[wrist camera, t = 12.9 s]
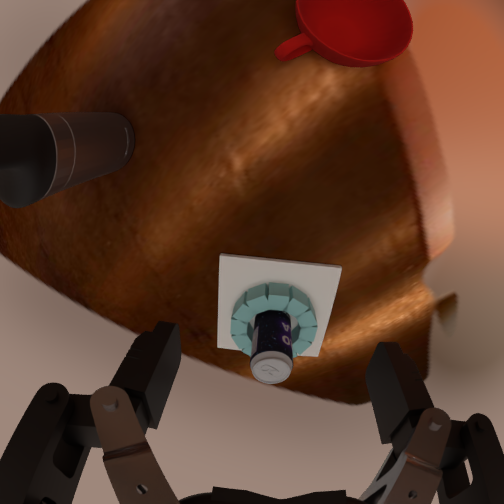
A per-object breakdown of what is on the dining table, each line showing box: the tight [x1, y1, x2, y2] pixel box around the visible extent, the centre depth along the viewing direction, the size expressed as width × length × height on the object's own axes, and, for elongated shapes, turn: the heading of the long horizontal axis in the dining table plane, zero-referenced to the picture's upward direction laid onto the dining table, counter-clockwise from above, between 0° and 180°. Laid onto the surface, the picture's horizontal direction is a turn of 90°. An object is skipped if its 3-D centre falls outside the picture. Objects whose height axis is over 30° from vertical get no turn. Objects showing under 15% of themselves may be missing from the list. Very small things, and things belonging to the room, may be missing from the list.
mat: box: [218, 253, 342, 357], centre depth 45 cm, size 18×18×1 cm
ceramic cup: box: [274, 0, 413, 67], centre depth 25 cm, size 13×17×10 cm
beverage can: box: [250, 310, 293, 384], centre depth 40 cm, size 6×6×12 cm
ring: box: [230, 282, 318, 358], centre depth 44 cm, size 13×13×4 cm
